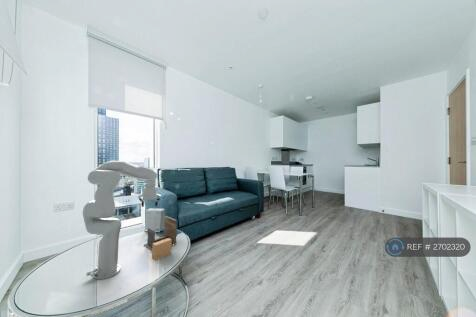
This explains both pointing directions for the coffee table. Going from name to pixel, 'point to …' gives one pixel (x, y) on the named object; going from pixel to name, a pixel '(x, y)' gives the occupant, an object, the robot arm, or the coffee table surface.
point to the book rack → (169, 232)
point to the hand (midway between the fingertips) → (149, 206)
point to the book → (161, 248)
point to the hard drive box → (154, 219)
